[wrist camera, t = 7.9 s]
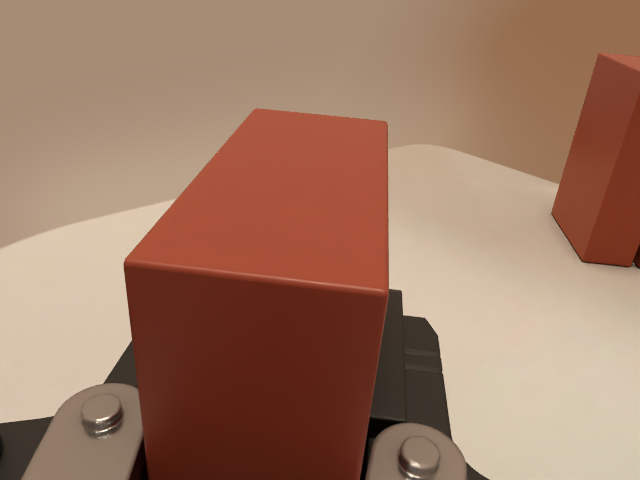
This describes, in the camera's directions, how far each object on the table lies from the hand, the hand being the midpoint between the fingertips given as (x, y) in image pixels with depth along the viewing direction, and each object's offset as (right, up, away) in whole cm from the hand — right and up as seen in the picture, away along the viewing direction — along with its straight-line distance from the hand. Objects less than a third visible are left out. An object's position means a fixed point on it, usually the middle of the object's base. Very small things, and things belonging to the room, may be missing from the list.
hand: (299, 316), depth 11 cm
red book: (-1, -6, +1) cm, 6 cm away
